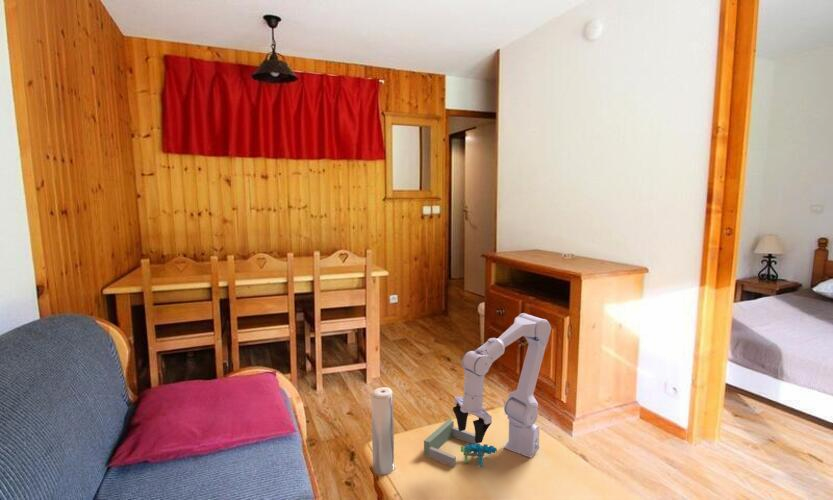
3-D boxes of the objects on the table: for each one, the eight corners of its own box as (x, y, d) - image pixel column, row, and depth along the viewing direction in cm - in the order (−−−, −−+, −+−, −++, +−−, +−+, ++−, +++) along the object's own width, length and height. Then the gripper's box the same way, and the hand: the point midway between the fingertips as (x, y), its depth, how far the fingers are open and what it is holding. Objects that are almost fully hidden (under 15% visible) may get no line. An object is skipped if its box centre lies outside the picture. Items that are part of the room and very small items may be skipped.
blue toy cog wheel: (498, 449, 135) (494, 441, 128) (499, 470, 132) (494, 463, 124) (464, 449, 138) (458, 441, 131) (464, 469, 135) (457, 462, 127)
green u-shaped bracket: (476, 443, 142) (477, 429, 141) (453, 467, 129) (453, 452, 128) (448, 432, 148) (448, 419, 147) (424, 455, 135) (424, 440, 135)
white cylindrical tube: (384, 458, 134) (383, 384, 130) (398, 468, 129) (397, 390, 126) (368, 468, 129) (366, 391, 126) (382, 478, 124) (380, 398, 121)
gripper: (447, 385, 129) (444, 428, 130) (479, 405, 117) (476, 451, 118) (465, 381, 133) (462, 422, 134) (498, 400, 121) (494, 445, 122)
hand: (470, 436), depth 126 cm, fingers open, 7 cm apart
